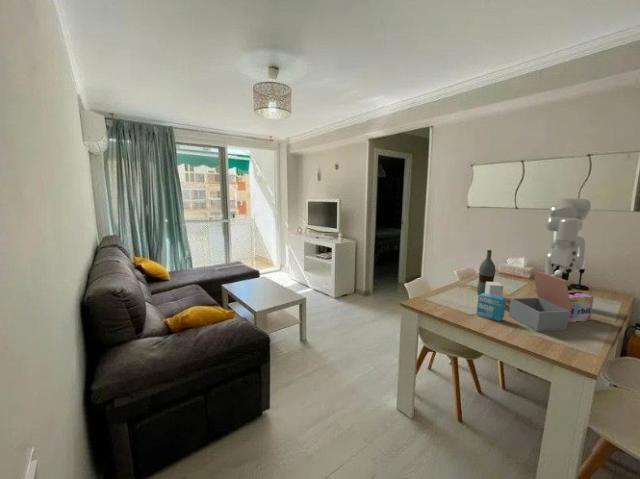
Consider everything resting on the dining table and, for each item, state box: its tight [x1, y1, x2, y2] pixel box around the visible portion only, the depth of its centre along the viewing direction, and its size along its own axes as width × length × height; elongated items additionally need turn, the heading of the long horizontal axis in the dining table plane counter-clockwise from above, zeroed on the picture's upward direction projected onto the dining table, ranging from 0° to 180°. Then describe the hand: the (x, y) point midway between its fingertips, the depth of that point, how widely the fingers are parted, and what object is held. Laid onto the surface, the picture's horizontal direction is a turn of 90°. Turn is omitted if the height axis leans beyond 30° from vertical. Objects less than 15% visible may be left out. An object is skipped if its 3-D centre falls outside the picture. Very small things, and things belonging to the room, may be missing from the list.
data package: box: [476, 293, 506, 322], centre depth 153 cm, size 12×4×12 cm, turn 47°
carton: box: [508, 297, 570, 333], centre depth 147 cm, size 16×18×10 cm
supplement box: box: [485, 281, 504, 297], centre depth 172 cm, size 7×7×13 cm
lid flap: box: [532, 269, 571, 311], centre depth 146 cm, size 17×18×8 cm
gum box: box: [549, 291, 595, 323], centre depth 152 cm, size 24×8×14 cm, turn 100°
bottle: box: [476, 249, 496, 296], centre depth 185 cm, size 9×9×30 cm
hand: (560, 278), depth 145 cm, fingers closed on lid flap, 4 cm apart
